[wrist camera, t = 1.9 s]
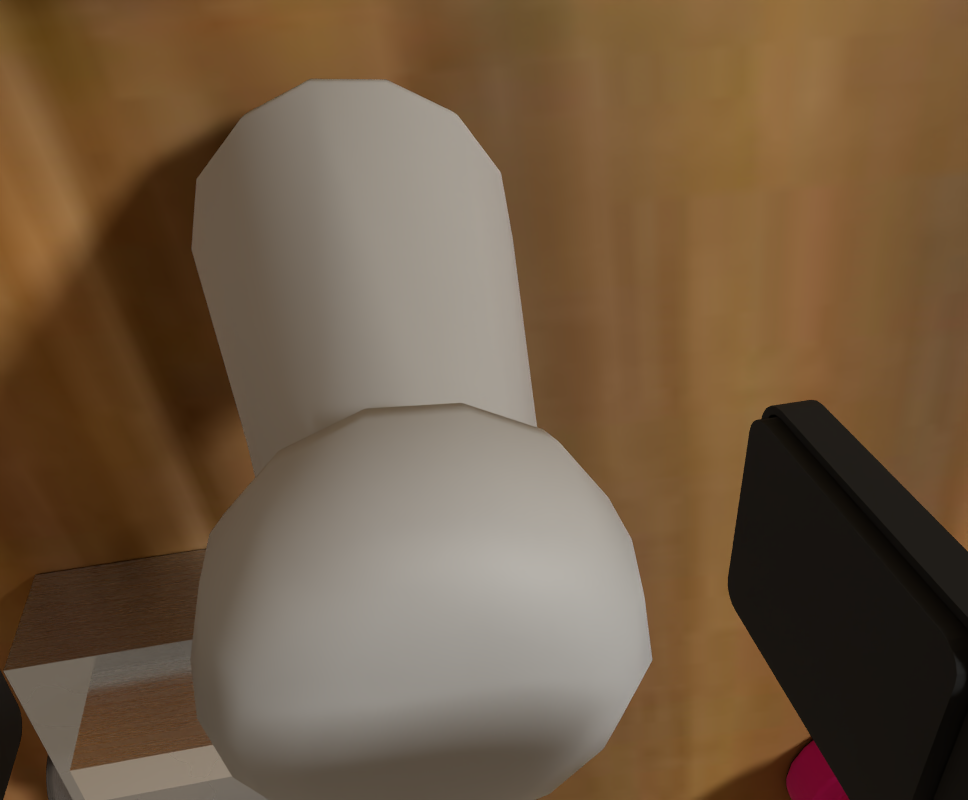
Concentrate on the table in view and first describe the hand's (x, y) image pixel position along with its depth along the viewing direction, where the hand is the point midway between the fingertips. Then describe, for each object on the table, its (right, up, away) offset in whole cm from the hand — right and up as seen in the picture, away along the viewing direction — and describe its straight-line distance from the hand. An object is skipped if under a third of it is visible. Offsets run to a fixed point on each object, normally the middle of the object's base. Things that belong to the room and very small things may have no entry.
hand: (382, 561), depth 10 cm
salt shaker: (-2, +6, +8) cm, 10 cm away
